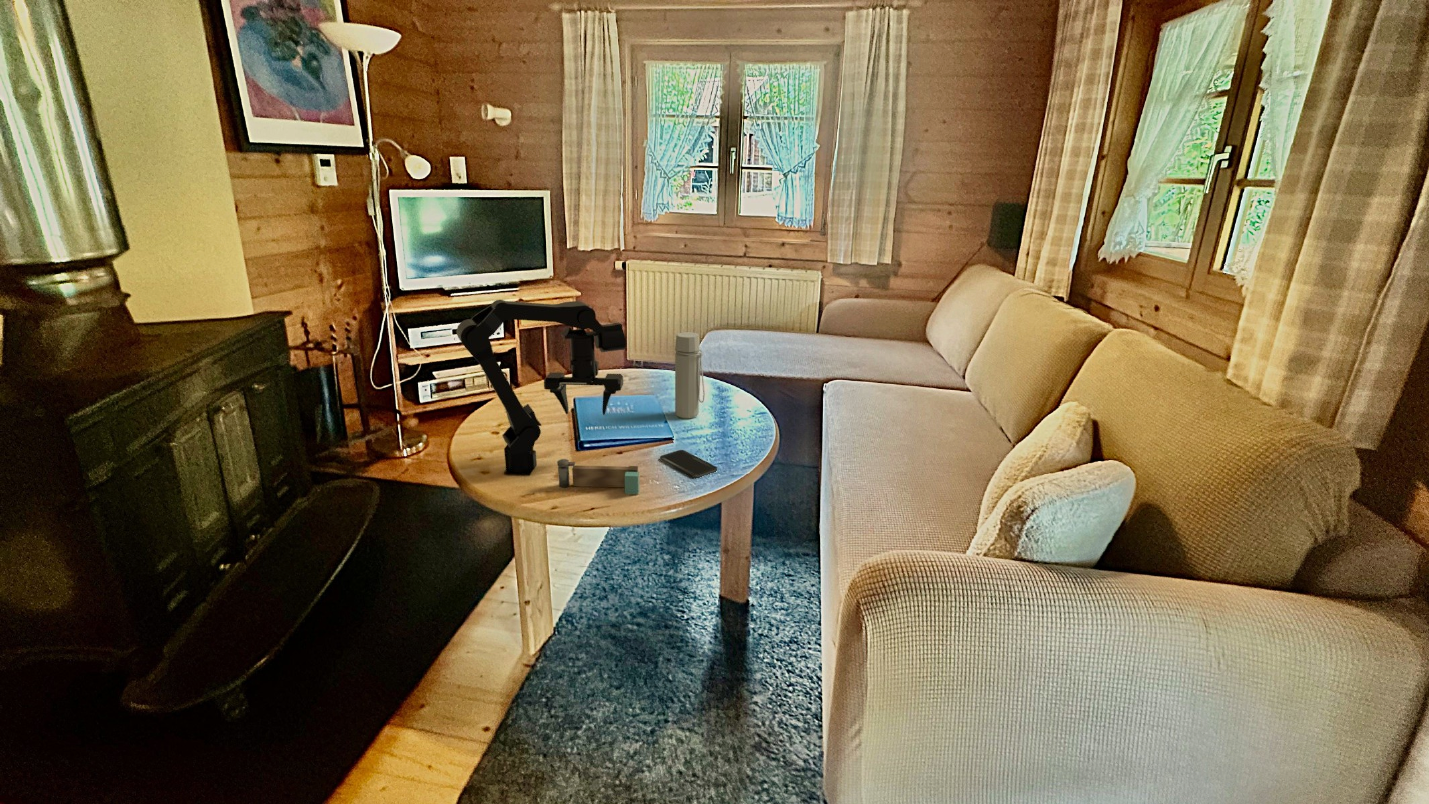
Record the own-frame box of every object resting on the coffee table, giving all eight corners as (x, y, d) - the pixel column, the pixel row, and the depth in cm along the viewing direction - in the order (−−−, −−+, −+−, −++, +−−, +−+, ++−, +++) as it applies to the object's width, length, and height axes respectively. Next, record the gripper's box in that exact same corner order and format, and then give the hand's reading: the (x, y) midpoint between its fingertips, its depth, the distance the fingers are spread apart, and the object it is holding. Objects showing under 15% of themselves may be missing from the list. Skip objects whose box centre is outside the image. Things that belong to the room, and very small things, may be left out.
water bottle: (670, 417, 202) (670, 336, 194) (681, 409, 209) (681, 330, 201) (699, 422, 199) (700, 339, 191) (708, 413, 206) (710, 333, 198)
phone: (694, 476, 163) (658, 456, 174) (694, 481, 164) (658, 460, 174) (719, 468, 168) (682, 448, 179) (719, 472, 169) (682, 452, 179)
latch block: (625, 494, 156) (624, 475, 154) (626, 489, 158) (625, 471, 156) (638, 494, 156) (637, 476, 154) (639, 489, 158) (638, 472, 156)
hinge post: (558, 487, 158) (557, 469, 156) (560, 483, 160) (559, 464, 159) (568, 488, 158) (567, 469, 156) (570, 483, 160) (569, 465, 159)
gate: (557, 486, 158) (556, 463, 156) (560, 481, 160) (558, 459, 158) (637, 488, 158) (636, 465, 156) (638, 483, 160) (637, 460, 158)
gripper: (625, 346, 173) (626, 404, 178) (552, 344, 173) (555, 402, 178) (619, 358, 162) (621, 419, 167) (541, 356, 162) (545, 417, 167)
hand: (585, 414), depth 170 cm, fingers open, 9 cm apart
